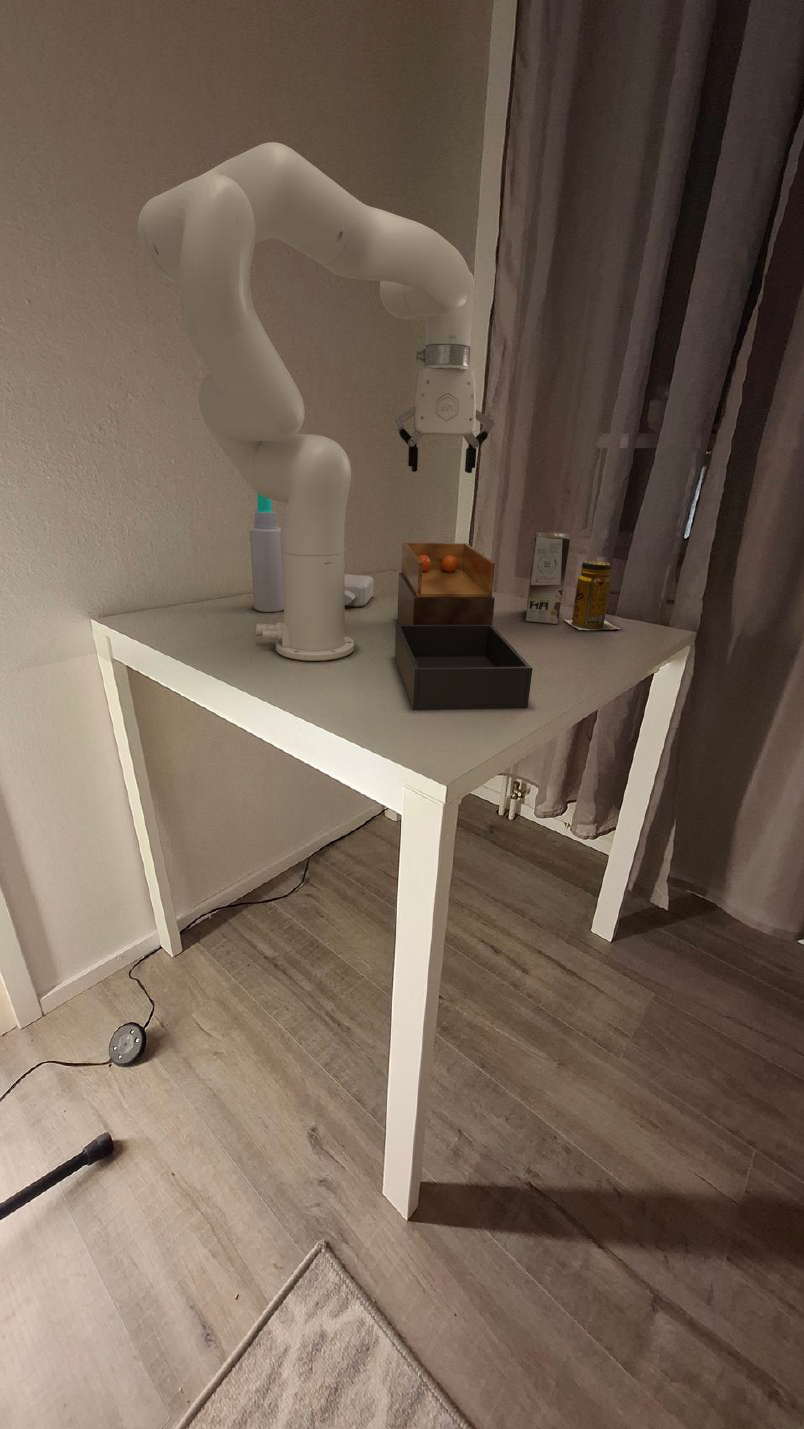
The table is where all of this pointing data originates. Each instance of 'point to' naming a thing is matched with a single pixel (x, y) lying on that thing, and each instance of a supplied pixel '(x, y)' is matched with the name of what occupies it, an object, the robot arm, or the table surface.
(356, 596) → the charger
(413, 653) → the basket
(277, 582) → the spray bottle
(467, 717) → the table surface
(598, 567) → the condiment
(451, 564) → the ball
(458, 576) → the pour box
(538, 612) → the coffee box
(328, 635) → the robot arm
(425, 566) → the ball
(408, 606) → the stand
